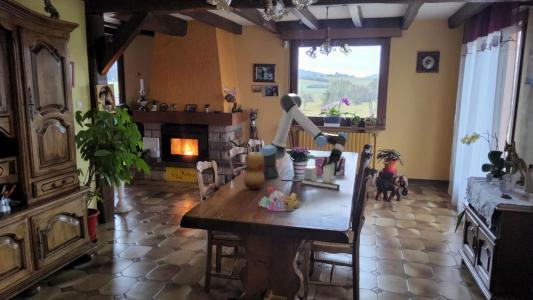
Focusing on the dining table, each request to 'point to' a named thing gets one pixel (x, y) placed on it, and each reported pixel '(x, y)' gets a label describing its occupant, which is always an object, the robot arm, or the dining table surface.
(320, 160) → the gum box
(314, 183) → the price rail
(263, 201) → the pastel sphere sculpture
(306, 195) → the dining table surface
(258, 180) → the butternut squash
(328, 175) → the tea carton
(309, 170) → the oat carton
